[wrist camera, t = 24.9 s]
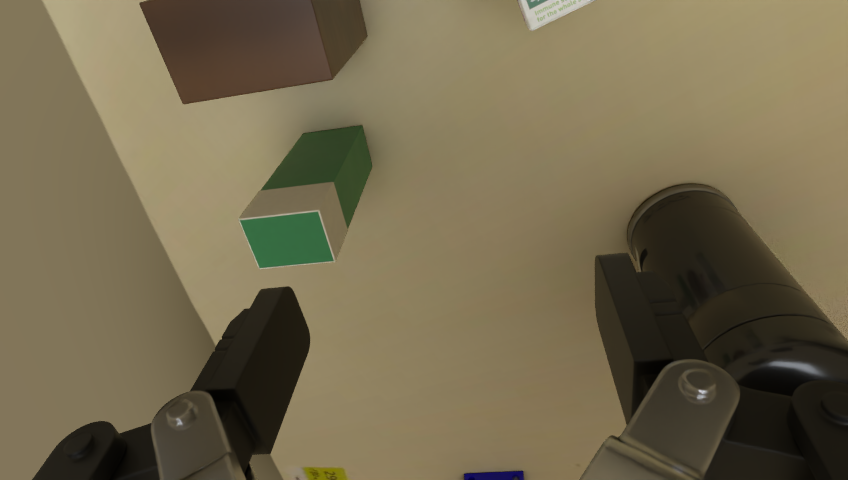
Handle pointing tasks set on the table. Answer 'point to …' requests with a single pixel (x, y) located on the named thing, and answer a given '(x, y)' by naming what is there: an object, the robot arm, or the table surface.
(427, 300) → the table surface
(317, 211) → the block
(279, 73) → the walnut block
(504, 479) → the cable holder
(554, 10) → the syrup box
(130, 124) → the table surface
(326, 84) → the table surface
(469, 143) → the table surface
